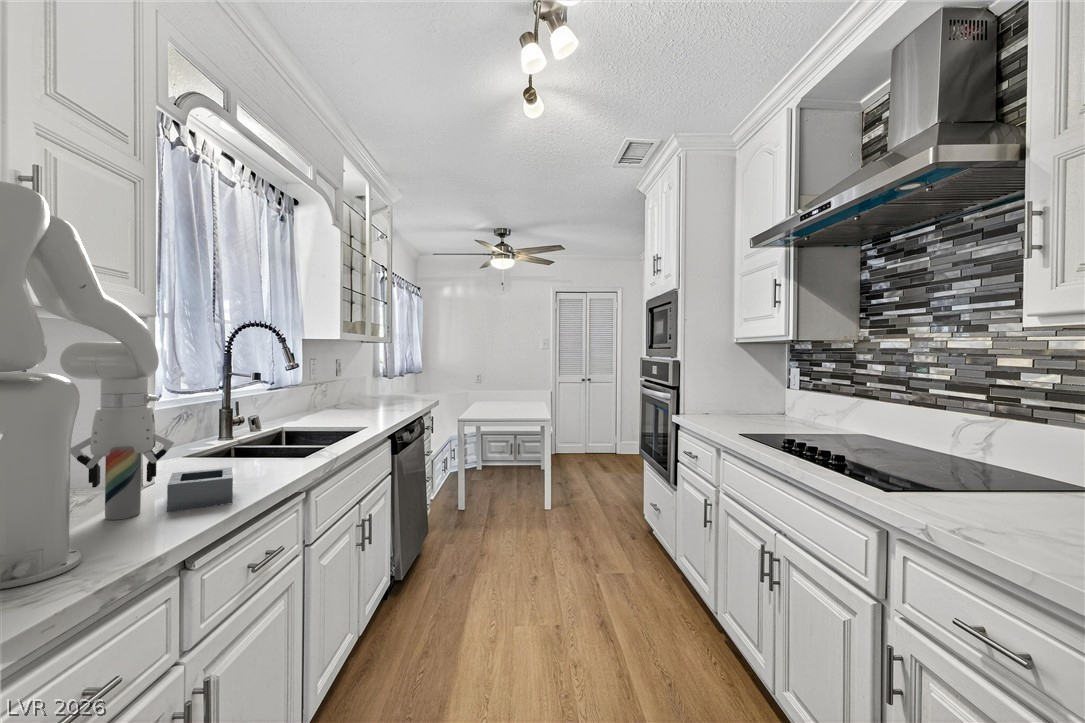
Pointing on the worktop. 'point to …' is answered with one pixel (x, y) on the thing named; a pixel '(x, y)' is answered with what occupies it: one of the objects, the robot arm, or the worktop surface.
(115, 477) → the lotion bottle
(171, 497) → the socket block
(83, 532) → the worktop surface
